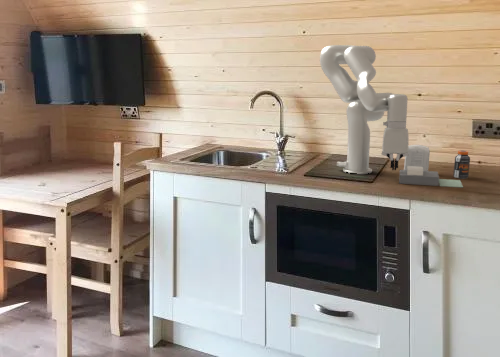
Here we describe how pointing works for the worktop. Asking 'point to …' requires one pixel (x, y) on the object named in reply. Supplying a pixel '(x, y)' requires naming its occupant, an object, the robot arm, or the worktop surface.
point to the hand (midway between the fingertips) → (394, 169)
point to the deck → (419, 178)
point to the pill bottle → (461, 165)
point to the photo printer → (417, 157)
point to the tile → (414, 170)
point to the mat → (450, 183)
